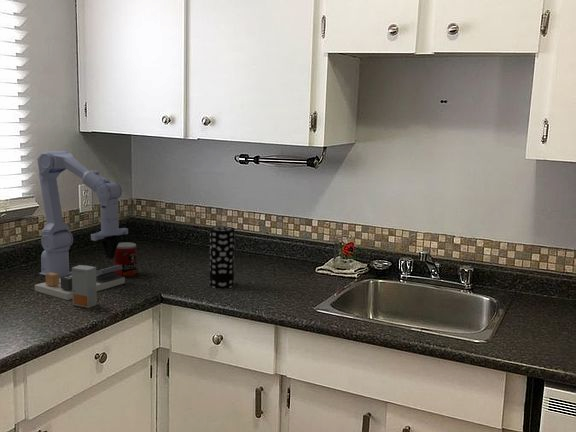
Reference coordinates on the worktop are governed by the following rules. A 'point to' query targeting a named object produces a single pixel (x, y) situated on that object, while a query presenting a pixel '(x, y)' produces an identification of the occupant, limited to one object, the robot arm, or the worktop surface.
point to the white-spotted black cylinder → (221, 257)
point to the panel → (101, 283)
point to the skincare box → (84, 286)
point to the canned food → (126, 259)
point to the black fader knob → (66, 283)
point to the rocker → (109, 270)
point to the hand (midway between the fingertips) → (110, 258)
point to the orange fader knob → (52, 279)
